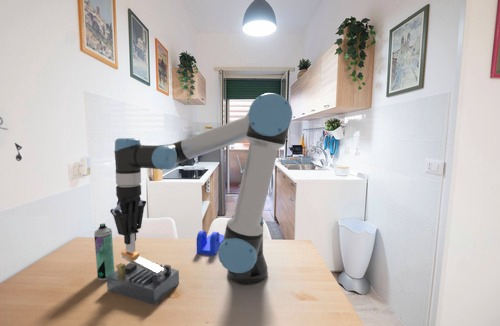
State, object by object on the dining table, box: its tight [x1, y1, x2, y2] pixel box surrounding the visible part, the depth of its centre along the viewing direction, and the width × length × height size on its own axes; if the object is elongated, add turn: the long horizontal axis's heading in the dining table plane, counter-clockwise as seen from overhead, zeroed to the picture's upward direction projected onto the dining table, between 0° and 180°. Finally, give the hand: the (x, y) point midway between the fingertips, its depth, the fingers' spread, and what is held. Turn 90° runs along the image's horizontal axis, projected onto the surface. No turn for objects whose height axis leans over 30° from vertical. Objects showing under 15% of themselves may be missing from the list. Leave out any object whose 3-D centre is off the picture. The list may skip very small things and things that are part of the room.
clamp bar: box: [120, 248, 167, 277], centre depth 84 cm, size 17×3×3 cm, turn 69°
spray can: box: [93, 223, 116, 281], centre depth 90 cm, size 6×6×20 cm
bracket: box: [196, 230, 225, 256], centre depth 116 cm, size 18×8×9 cm, turn 169°
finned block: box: [106, 261, 180, 306], centre depth 85 cm, size 20×12×9 cm, turn 69°
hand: (130, 251), depth 85 cm, fingers closed
